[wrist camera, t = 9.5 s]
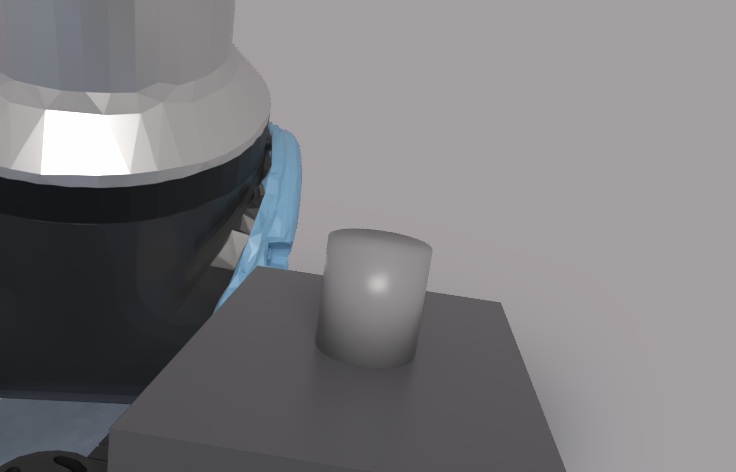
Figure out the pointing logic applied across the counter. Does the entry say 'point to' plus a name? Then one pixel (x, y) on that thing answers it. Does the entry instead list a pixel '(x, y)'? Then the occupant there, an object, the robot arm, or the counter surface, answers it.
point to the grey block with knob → (342, 377)
